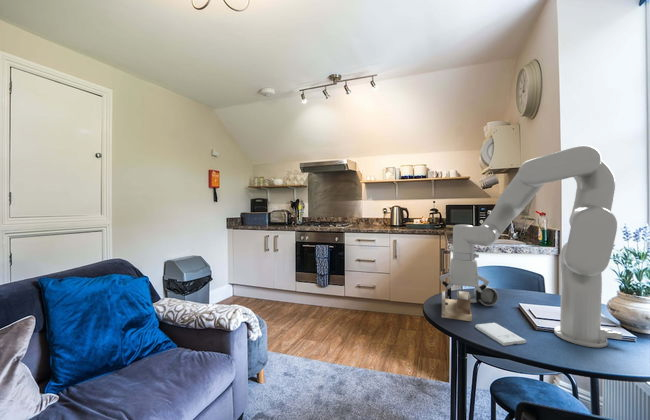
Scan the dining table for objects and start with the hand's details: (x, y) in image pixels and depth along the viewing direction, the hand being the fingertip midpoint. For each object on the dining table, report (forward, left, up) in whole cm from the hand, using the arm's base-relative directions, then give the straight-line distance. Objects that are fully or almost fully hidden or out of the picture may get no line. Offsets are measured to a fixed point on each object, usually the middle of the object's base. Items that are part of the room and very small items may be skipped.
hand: (463, 299), depth 109 cm
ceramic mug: (-8, -15, -6) cm, 18 cm away
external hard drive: (-10, +15, -6) cm, 19 cm away
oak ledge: (+2, -1, -5) cm, 6 cm away
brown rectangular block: (0, 0, -3) cm, 3 cm away
